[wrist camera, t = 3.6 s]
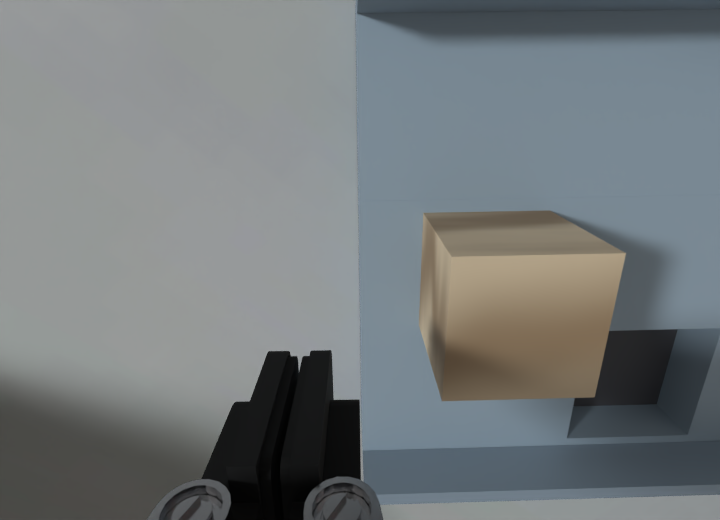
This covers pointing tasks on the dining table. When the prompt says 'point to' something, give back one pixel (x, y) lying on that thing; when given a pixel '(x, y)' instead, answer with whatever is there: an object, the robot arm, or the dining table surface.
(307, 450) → the robot arm
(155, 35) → the dining table surface
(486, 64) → the trap board
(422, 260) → the oak block
